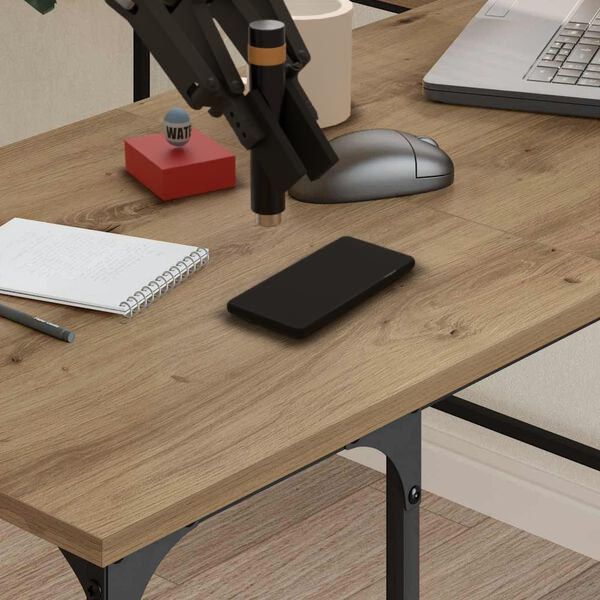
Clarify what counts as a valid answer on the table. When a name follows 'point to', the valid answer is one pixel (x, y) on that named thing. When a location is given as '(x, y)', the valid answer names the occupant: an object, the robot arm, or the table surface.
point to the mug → (323, 56)
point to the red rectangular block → (179, 160)
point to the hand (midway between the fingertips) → (309, 176)
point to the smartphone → (320, 286)
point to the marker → (271, 84)
